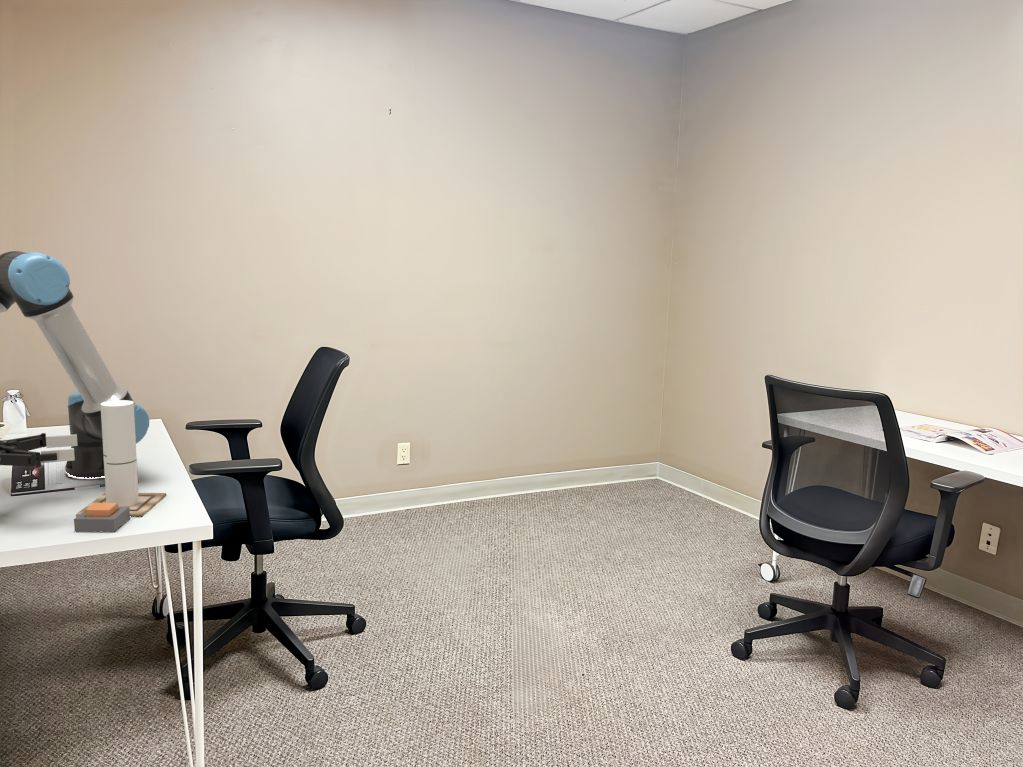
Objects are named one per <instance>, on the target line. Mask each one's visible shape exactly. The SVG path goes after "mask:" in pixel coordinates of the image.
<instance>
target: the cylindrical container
mask: <svg viewBox="0 0 1023 767" xmlns="http://www.w3.org/2000/svg"><path fill="white" fill-rule="evenodd" d="M133 401H134V400H133ZM133 401H128V400H114V401H107V402H103V403H101V421H102V438H103V454H104V472H105V478H104V486H105V488H104V489H105V490H104V491H105V493H106V503H118V506H132V505H135V504H137V503H138V502H139V496H138V493H139V483H138V482H139V481H138V478H139V477H138V462H137V459H138V458H137V444H136V437H135V417H134V403H135V402H133Z"/></svg>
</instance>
